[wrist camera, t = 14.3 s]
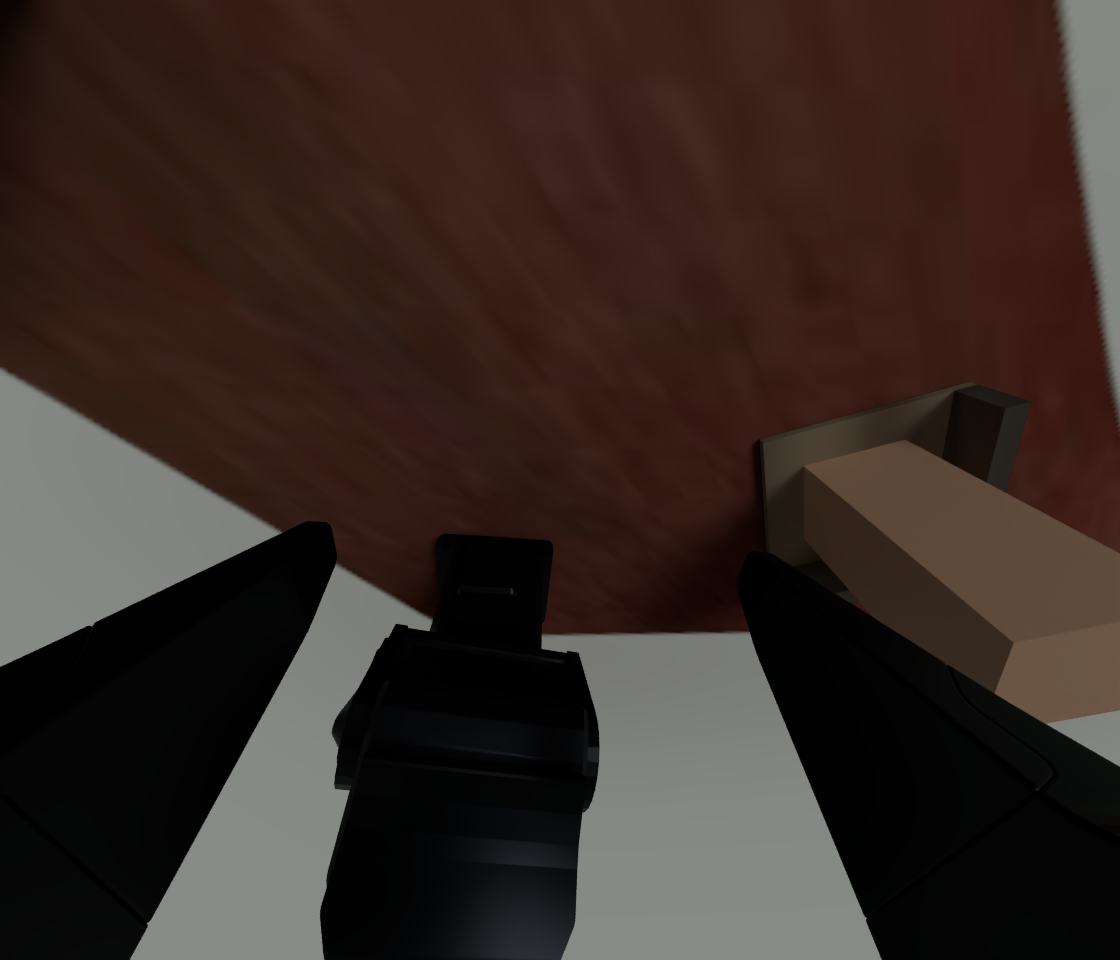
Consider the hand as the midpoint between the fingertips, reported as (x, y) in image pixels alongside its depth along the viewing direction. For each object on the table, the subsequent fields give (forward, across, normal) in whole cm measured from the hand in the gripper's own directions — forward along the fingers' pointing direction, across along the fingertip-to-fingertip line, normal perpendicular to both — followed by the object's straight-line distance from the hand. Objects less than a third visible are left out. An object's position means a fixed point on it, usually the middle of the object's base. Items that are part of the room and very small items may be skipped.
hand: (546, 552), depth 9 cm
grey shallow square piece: (+12, -17, +4) cm, 21 cm away
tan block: (+12, -17, +4) cm, 21 cm away
